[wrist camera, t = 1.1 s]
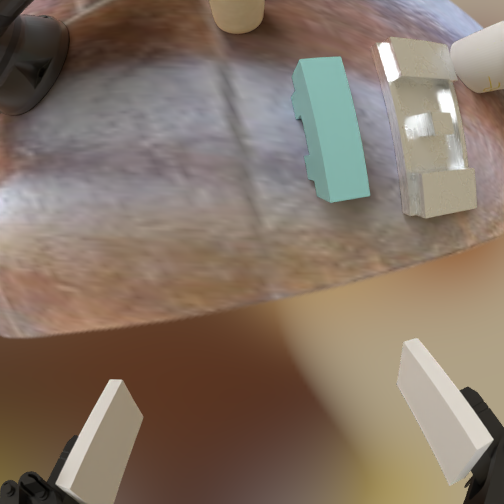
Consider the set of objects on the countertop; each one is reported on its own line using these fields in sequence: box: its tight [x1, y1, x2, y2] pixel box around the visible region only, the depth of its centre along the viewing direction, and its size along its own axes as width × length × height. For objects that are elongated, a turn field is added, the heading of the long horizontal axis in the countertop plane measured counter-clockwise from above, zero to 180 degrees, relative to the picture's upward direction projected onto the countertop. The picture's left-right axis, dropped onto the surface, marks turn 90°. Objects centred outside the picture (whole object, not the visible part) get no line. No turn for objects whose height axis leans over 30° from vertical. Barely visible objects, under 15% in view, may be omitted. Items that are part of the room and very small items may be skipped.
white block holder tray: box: [370, 37, 477, 218], centre depth 25 cm, size 20×10×4 cm, turn 12°
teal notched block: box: [291, 57, 370, 203], centre depth 24 cm, size 12×4×8 cm, turn 12°
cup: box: [450, 21, 504, 93], centre depth 18 cm, size 8×8×12 cm
